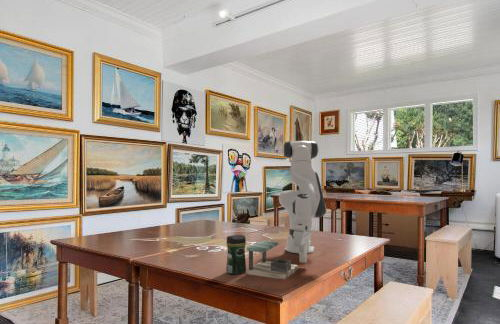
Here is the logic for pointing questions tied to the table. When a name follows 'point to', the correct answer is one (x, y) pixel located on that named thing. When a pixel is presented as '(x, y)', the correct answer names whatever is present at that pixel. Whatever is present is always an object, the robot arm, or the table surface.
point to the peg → (303, 254)
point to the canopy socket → (266, 268)
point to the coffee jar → (236, 254)
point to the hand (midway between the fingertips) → (303, 251)
